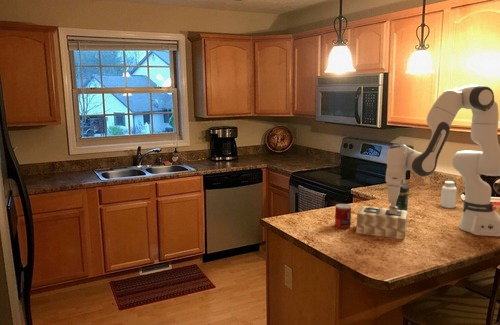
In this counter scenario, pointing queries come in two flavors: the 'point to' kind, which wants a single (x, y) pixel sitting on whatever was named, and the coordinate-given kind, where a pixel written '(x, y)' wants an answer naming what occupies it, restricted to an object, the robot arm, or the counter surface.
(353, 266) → the counter surface
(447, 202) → the pill bottle
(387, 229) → the socket block
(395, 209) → the peg
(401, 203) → the coffee jar
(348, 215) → the canned food
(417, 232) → the counter surface
